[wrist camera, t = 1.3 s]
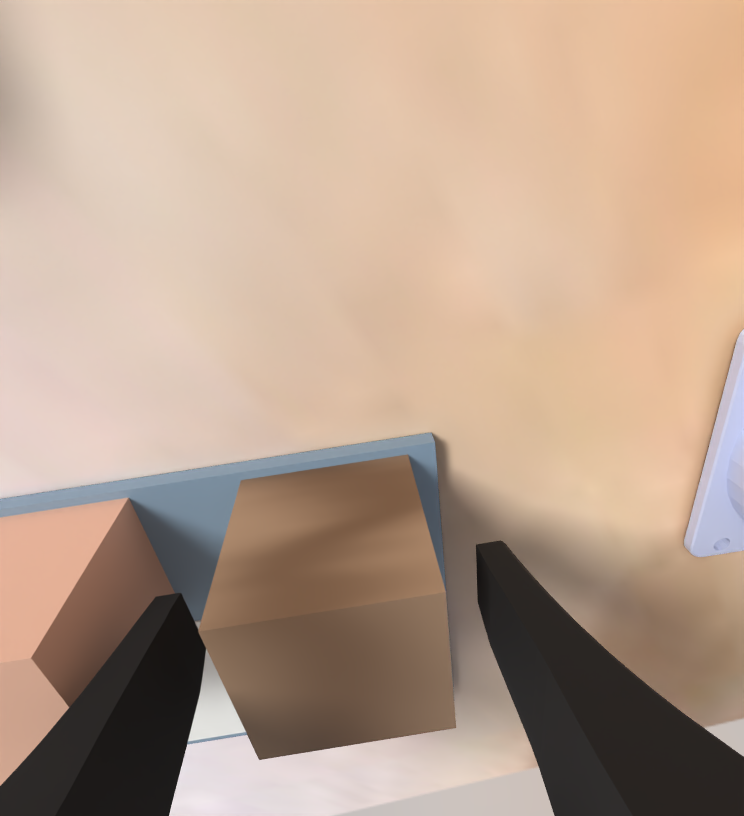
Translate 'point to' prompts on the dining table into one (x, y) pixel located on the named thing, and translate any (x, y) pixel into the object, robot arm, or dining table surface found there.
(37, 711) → the terracotta block
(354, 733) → the walnut block
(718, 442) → the robot arm
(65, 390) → the dining table surface
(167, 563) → the plate
